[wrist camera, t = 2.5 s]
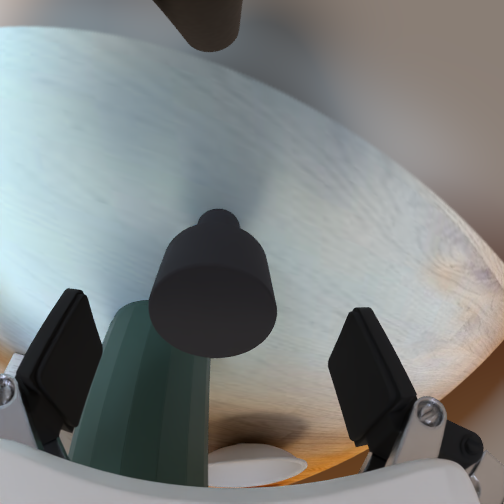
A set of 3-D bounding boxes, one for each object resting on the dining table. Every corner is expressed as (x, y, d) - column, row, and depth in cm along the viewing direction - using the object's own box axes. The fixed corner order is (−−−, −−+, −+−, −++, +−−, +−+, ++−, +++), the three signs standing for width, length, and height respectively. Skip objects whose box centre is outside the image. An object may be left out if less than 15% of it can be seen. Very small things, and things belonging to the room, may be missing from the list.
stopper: (163, 211, 15) (122, 293, 9) (238, 175, 14) (244, 241, 8) (202, 272, 17) (191, 369, 11) (270, 244, 16) (294, 337, 10)
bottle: (93, 317, 18) (30, 521, 4) (173, 285, 17) (134, 571, 3) (151, 375, 22) (131, 549, 8) (227, 354, 21) (237, 564, 7)
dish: (250, 464, 37) (252, 489, 33) (168, 450, 32) (166, 478, 28) (326, 427, 30) (334, 460, 26) (229, 409, 25) (230, 452, 21)
